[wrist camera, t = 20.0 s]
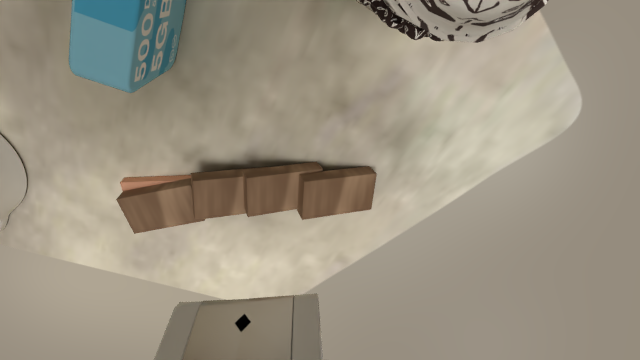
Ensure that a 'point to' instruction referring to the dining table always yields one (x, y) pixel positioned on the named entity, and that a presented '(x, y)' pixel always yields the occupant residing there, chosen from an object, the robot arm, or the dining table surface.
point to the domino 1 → (148, 181)
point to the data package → (124, 40)
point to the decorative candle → (454, 17)
